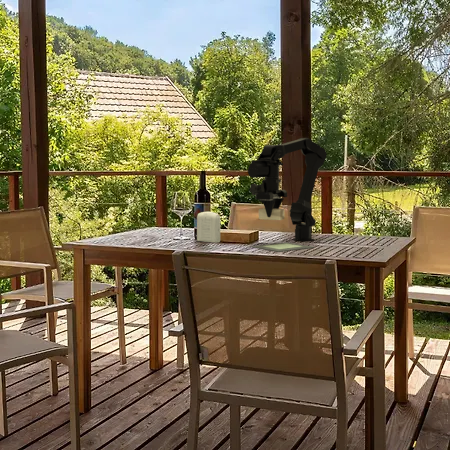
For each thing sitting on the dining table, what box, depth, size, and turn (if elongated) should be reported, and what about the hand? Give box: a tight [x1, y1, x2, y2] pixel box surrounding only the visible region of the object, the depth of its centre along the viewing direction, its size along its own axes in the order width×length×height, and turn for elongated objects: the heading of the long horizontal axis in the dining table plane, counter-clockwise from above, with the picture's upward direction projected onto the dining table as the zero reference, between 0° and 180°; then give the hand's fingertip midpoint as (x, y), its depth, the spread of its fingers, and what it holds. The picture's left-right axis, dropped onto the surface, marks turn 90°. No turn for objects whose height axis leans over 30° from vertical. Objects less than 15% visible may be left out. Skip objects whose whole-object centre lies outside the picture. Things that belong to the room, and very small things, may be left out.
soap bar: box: [196, 211, 221, 244], centre depth 285 cm, size 10×4×12 cm, turn 56°
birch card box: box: [258, 207, 286, 221], centre depth 277 cm, size 5×9×4 cm, turn 63°
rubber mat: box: [251, 241, 315, 253], centre depth 269 cm, size 18×16×1 cm
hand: (271, 216), depth 277 cm, fingers closed on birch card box, 5 cm apart
